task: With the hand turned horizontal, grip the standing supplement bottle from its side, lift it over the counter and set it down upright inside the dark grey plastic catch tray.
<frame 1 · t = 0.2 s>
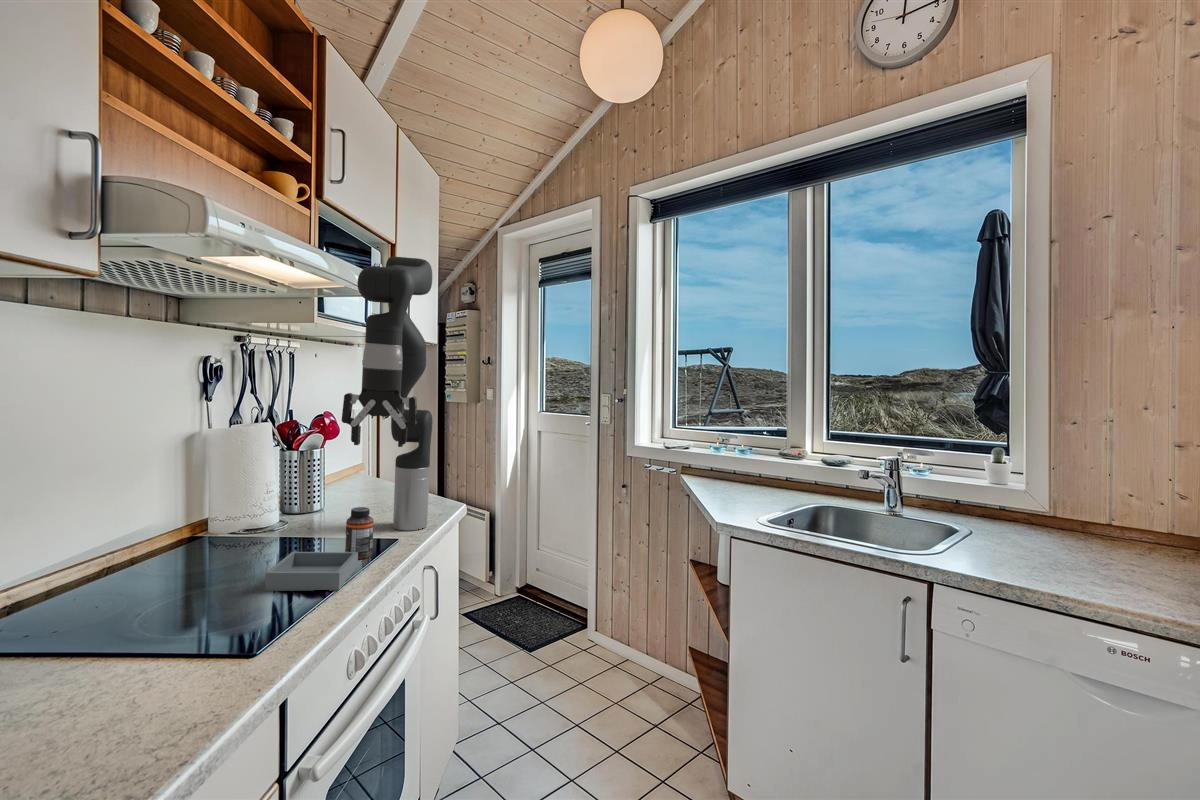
hand: (378, 445, 118), 28 cm above the cooktop, tool pointing down, fingers open, 8 cm apart
catch tray: (314, 578, 119), on the cooktop
supplement bottle: (358, 557, 134), on the cooktop
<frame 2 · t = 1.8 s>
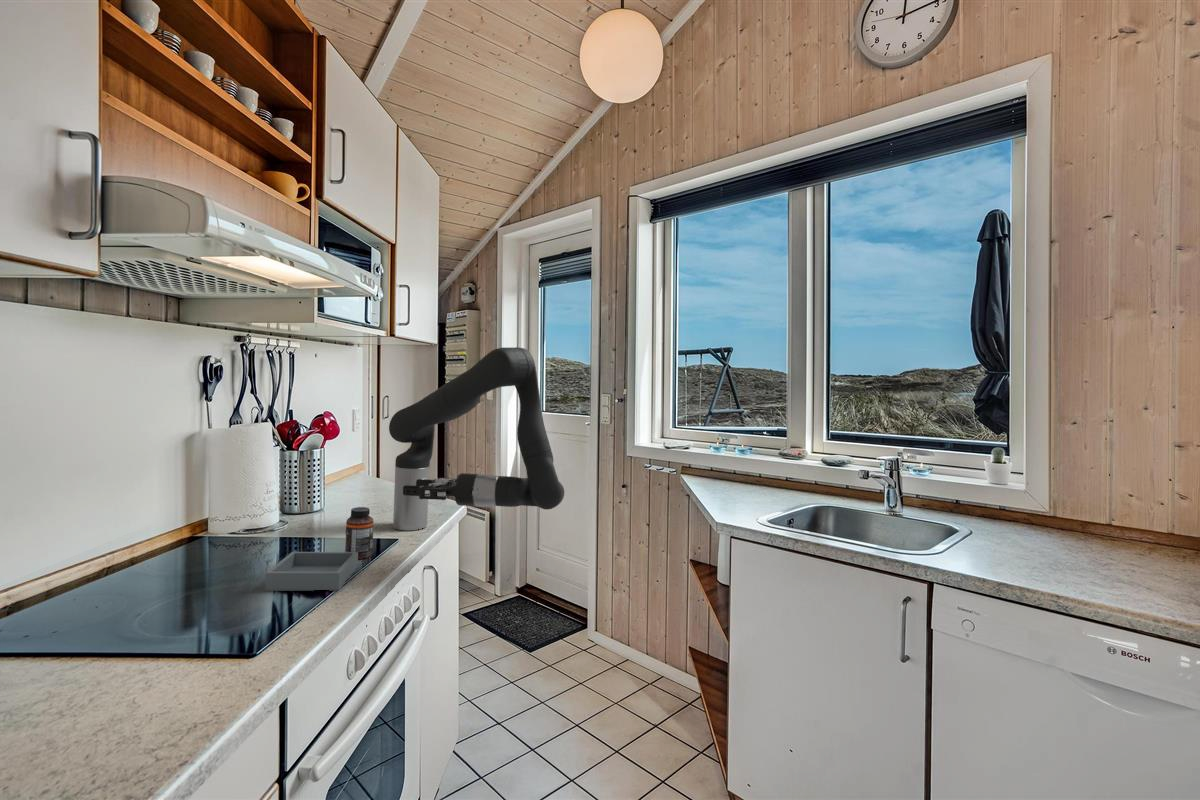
hand: (410, 486, 135), 17 cm above the cooktop, tool horizontal, fingers open, 8 cm apart
nothing on the cooktop moved.
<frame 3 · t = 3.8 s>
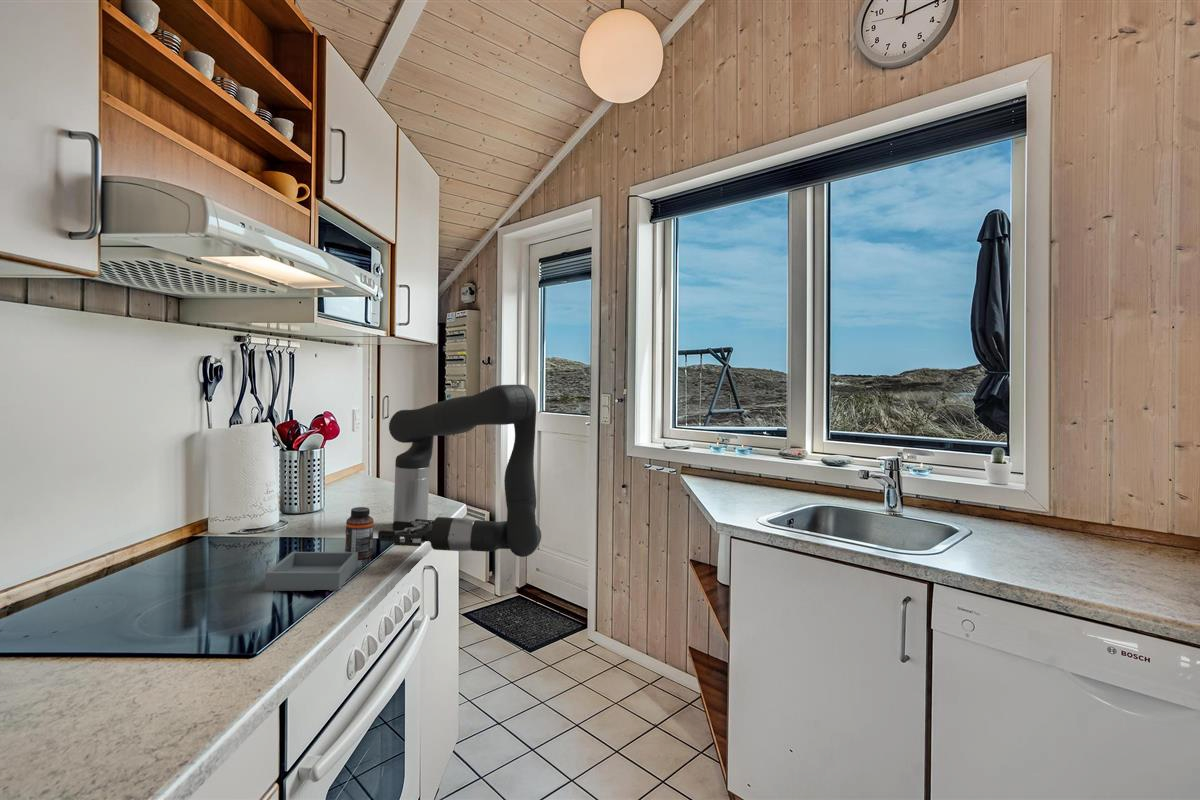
hand: (386, 530, 134), 7 cm above the cooktop, tool horizontal, fingers open, 8 cm apart
nothing on the cooktop moved.
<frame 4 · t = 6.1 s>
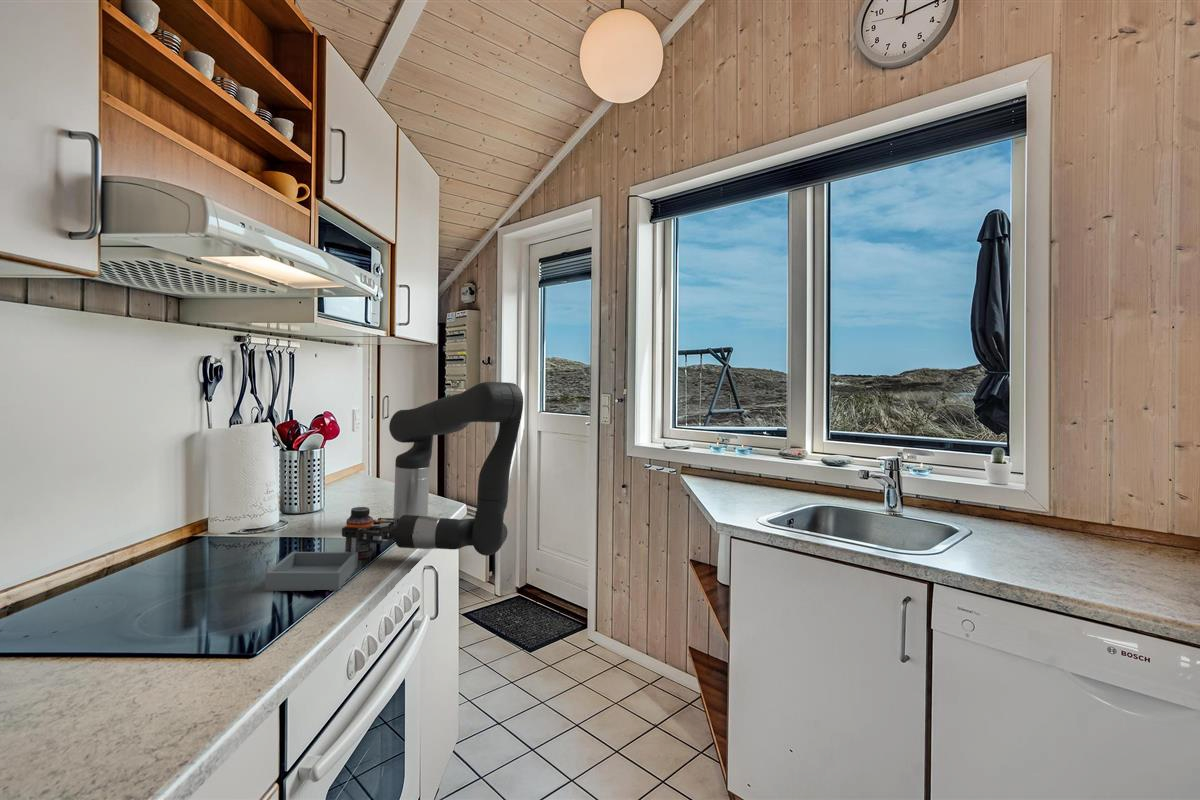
hand: (349, 528, 134), 7 cm above the cooktop, tool horizontal, fingers closed on supplement bottle, 6 cm apart
supplement bottle: (358, 557, 134), on the cooktop, touching gripper
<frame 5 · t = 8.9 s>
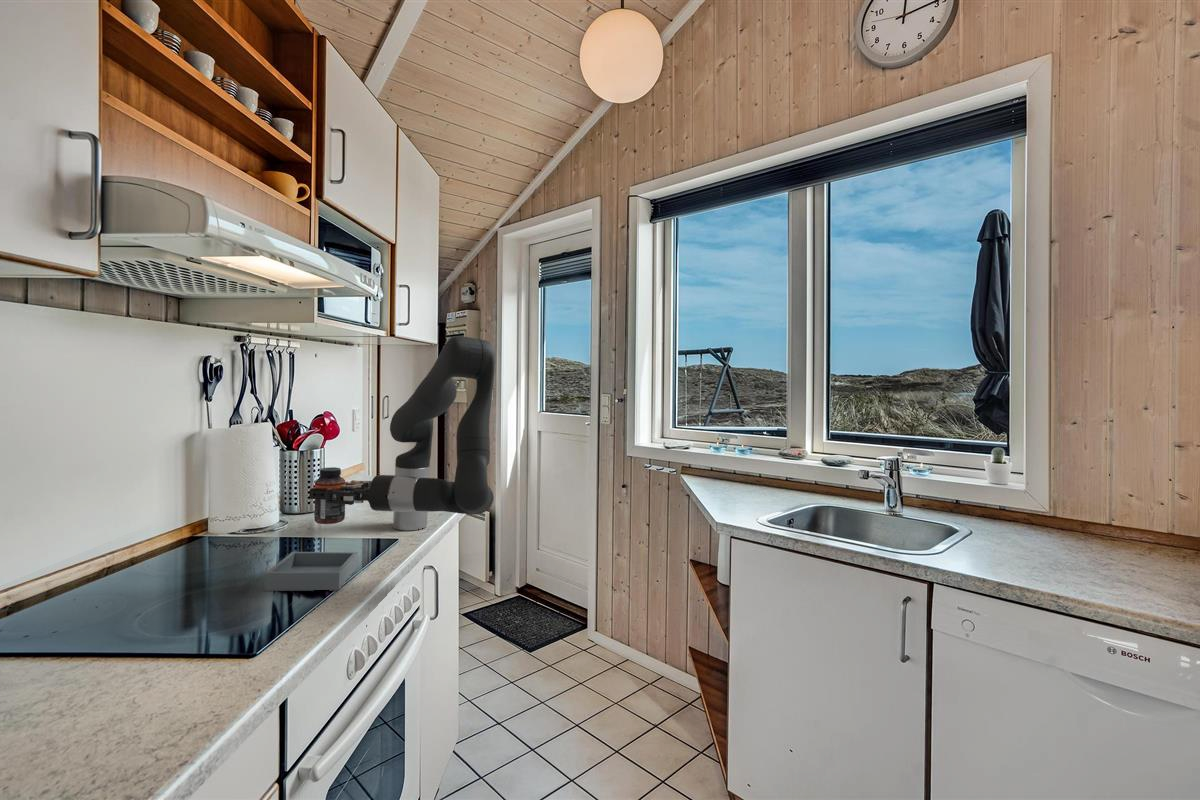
hand: (318, 490, 121), 18 cm above the cooktop, tool horizontal, fingers closed on supplement bottle, 6 cm apart
supplement bottle: (329, 522, 122), point 11 cm above the cooktop, touching gripper
when the fingers open (8 cm above the cooktop, at t = 11.9 s): supplement bottle drops 1 cm, resting on catch tray.
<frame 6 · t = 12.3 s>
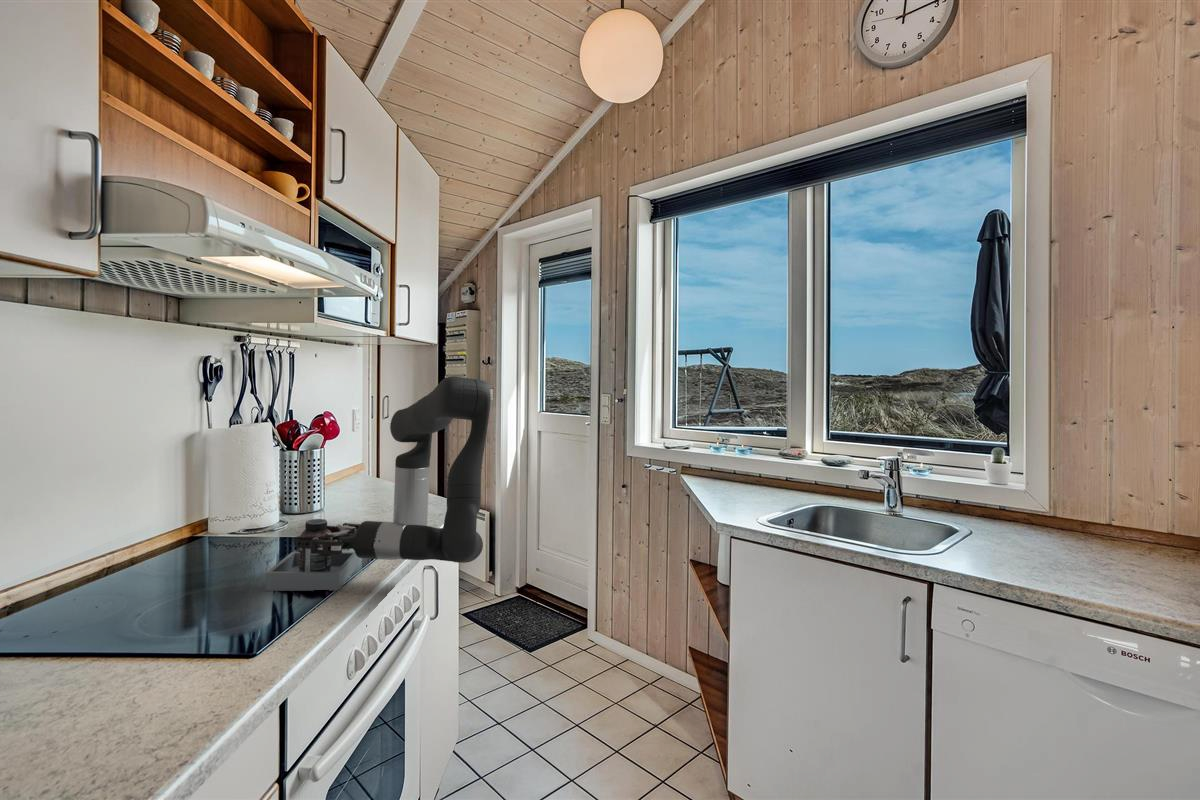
hand: (306, 536, 119), 9 cm above the cooktop, tool horizontal, fingers open, 8 cm apart
supplement bottle: (314, 575, 119), point 1 cm above the cooktop, touching catch tray
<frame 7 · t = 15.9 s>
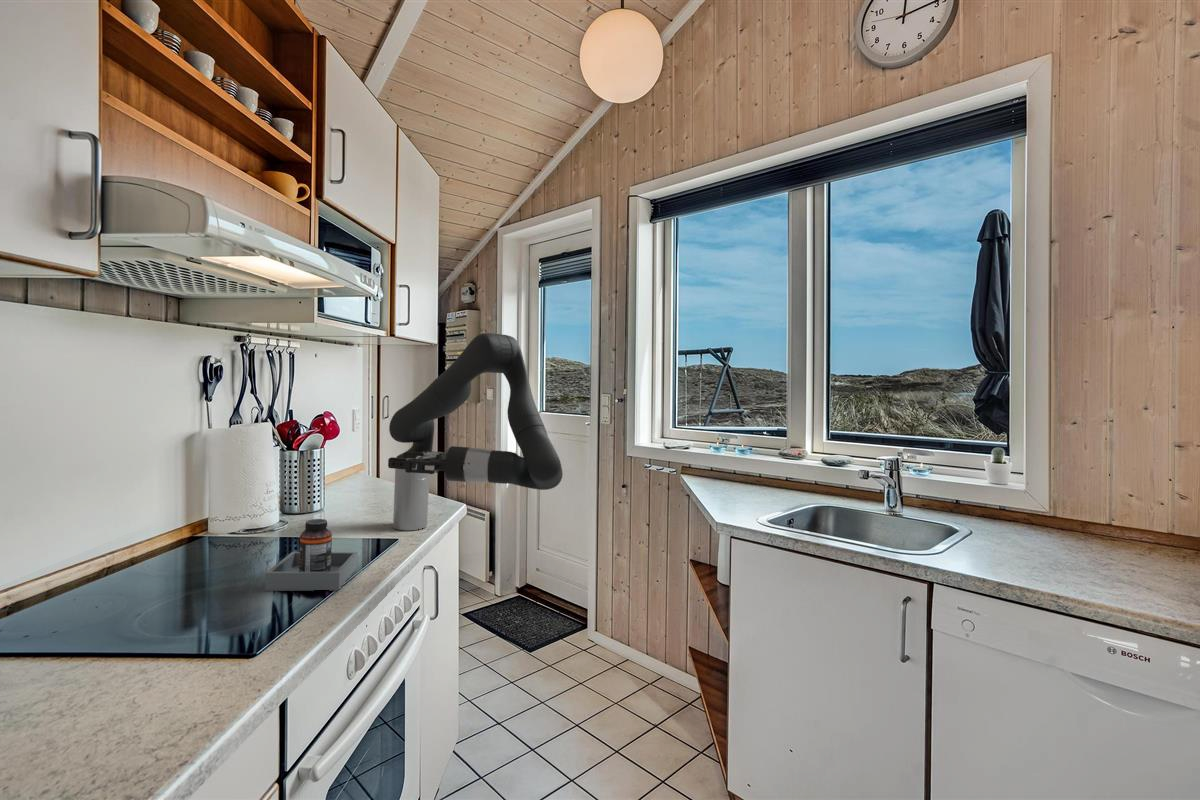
hand: (396, 459, 125), 25 cm above the cooktop, tool horizontal, fingers open, 8 cm apart
nothing on the cooktop moved.
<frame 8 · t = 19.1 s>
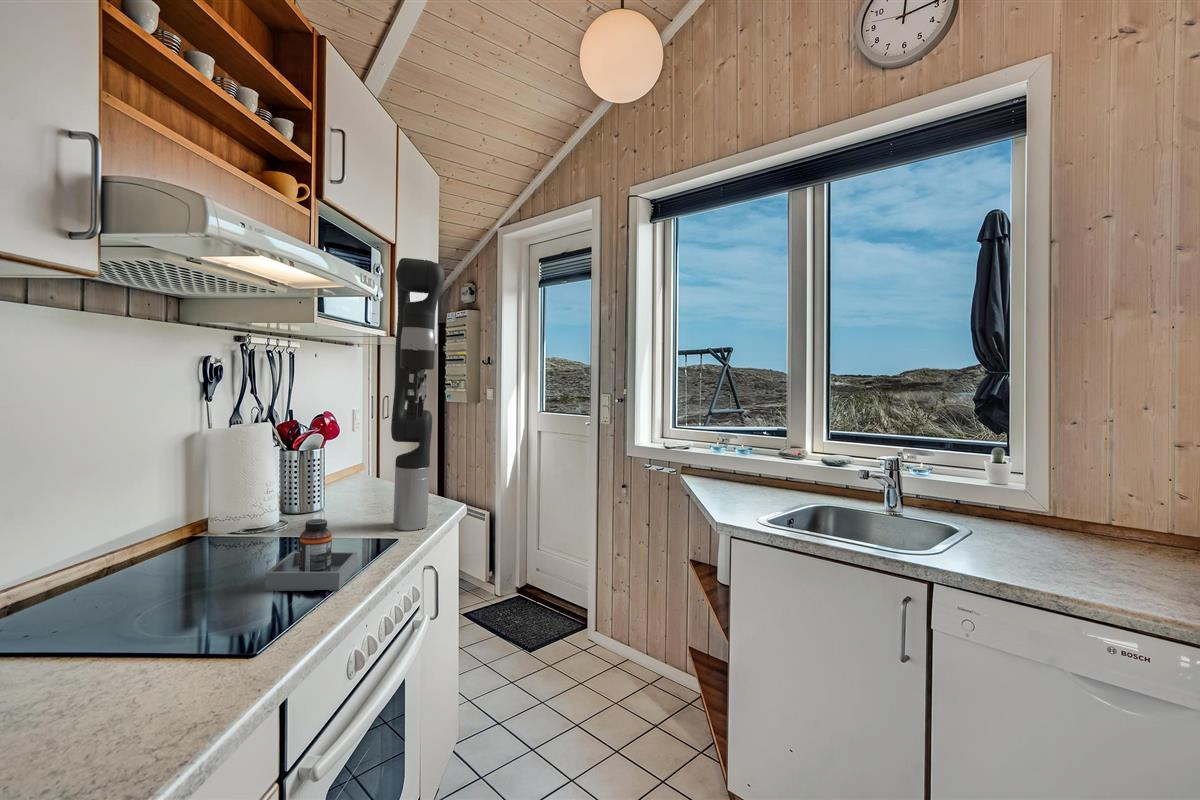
hand: (415, 418, 132), 33 cm above the cooktop, tool pointing down, fingers open, 8 cm apart
nothing on the cooktop moved.
at the end: supplement bottle inside the target area on the catch tray (0.1 cm from its centre), point 0.6 cm above the catch tray's base; supplement bottle tilted 0°; the gripper is holding nothing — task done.
